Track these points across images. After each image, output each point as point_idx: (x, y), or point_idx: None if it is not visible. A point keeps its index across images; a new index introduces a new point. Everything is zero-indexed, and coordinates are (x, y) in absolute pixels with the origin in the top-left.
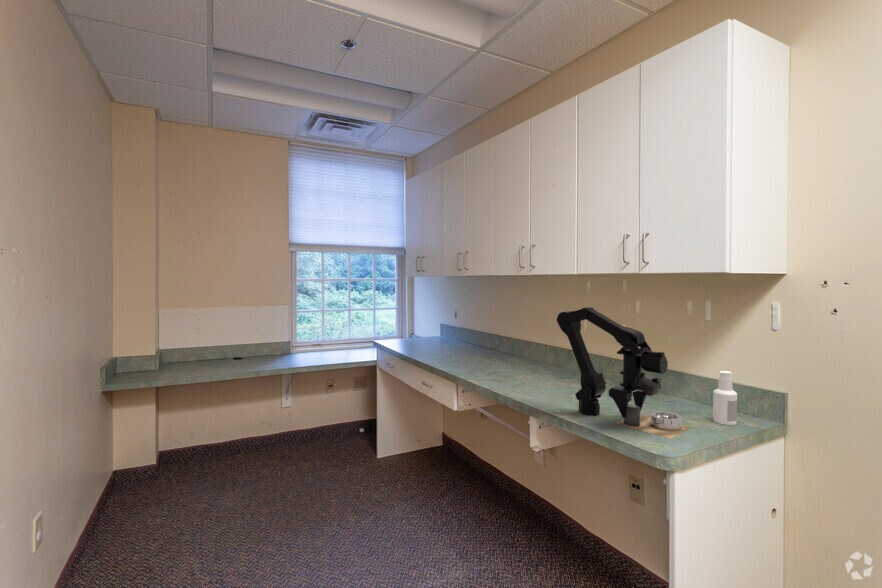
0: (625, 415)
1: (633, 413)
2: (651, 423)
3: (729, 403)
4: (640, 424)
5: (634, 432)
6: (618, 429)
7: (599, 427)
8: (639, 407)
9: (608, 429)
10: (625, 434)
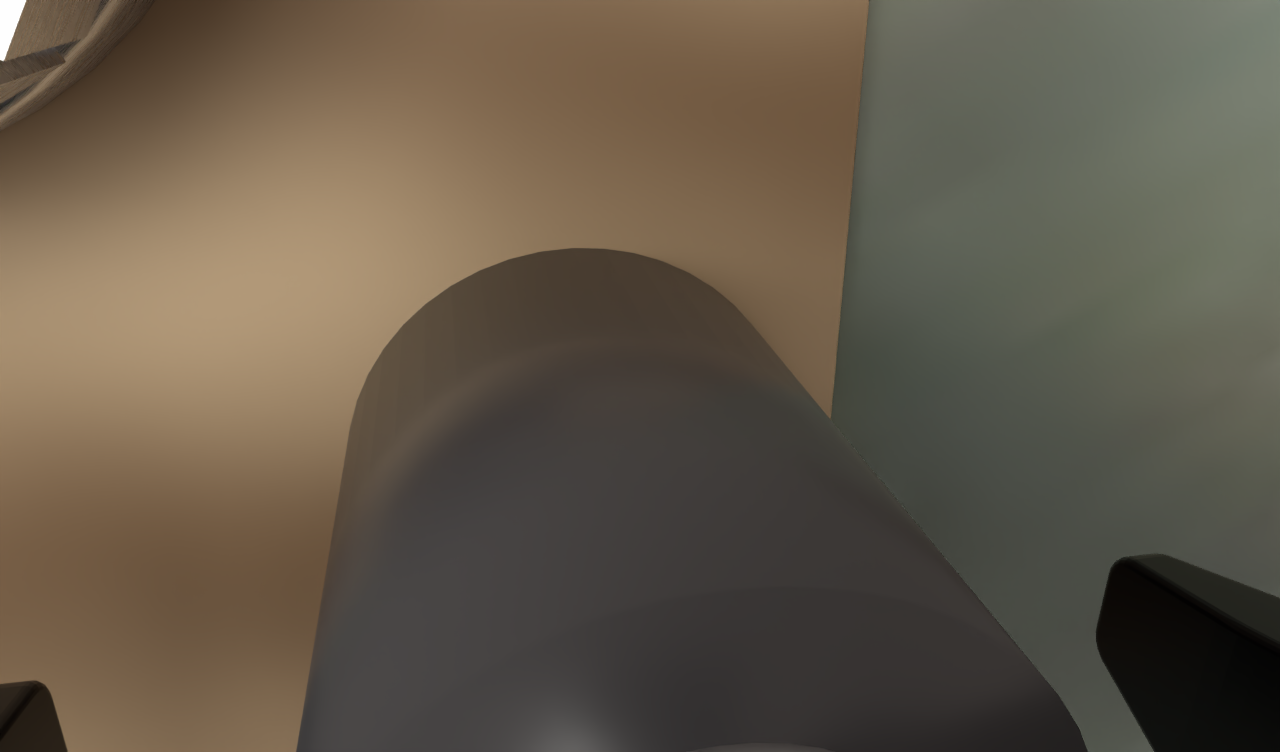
0: (1242, 588)
1: (925, 537)
2: (124, 21)
3: None
4: (387, 306)
5: (887, 158)
6: (958, 494)
7: (1101, 740)
8: (525, 685)
9: (1097, 597)
10: (1167, 217)
